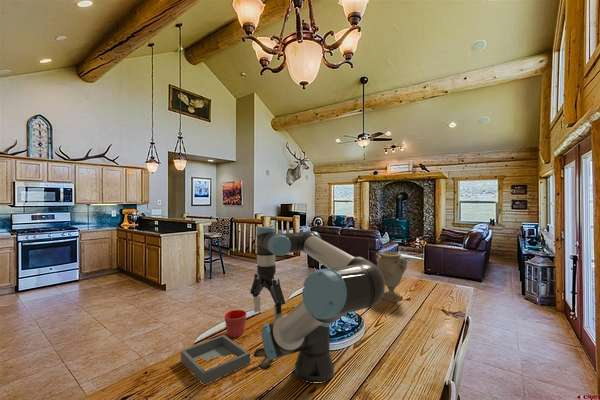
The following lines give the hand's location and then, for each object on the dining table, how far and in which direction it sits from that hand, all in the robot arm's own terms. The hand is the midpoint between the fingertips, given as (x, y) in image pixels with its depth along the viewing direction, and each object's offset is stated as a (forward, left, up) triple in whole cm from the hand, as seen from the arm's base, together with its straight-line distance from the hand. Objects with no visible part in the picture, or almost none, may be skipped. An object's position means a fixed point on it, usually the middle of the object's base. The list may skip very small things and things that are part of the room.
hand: (266, 316), depth 116 cm
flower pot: (+30, -3, -19) cm, 36 cm away
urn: (+1, -102, -19) cm, 104 cm away
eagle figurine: (0, +1, -19) cm, 19 cm away
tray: (+14, +16, -19) cm, 28 cm away
